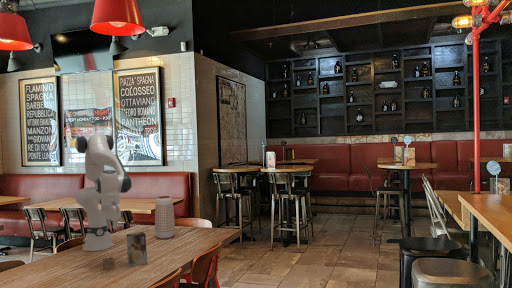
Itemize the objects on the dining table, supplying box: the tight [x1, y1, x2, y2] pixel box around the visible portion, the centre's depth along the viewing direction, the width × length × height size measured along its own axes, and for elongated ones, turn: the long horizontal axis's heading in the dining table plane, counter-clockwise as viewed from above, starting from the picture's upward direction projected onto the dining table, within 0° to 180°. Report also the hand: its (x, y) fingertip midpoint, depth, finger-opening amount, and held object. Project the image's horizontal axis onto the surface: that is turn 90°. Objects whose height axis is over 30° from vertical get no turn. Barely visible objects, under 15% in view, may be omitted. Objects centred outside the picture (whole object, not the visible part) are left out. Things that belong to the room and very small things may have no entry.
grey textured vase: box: [154, 195, 176, 240], centre depth 255 cm, size 13×13×28 cm
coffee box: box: [126, 231, 148, 267], centre depth 199 cm, size 9×6×16 cm
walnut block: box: [102, 256, 115, 271], centre depth 192 cm, size 4×4×5 cm
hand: (111, 227), depth 193 cm, fingers open, 8 cm apart
